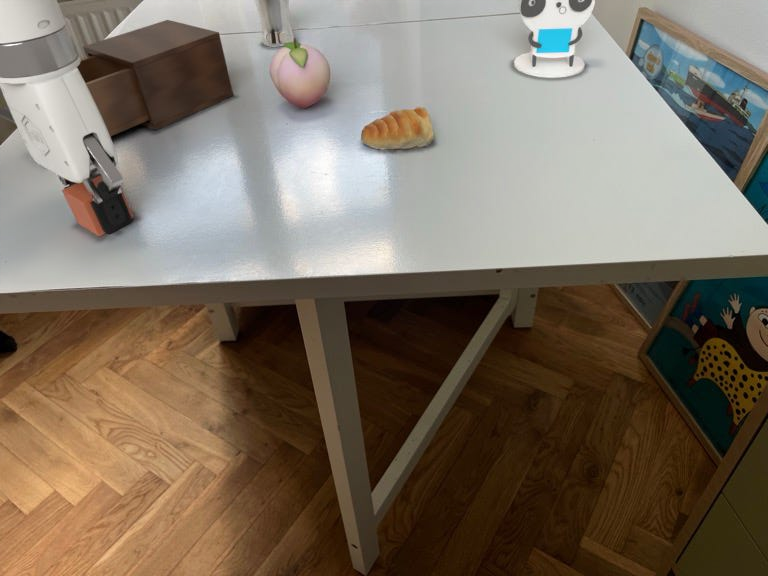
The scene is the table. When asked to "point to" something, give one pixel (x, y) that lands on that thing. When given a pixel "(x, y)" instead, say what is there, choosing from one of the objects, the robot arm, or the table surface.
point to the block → (86, 206)
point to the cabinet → (171, 68)
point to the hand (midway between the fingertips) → (105, 218)
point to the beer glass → (275, 22)
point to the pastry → (399, 130)
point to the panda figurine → (553, 36)
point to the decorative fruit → (300, 73)
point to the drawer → (109, 94)
